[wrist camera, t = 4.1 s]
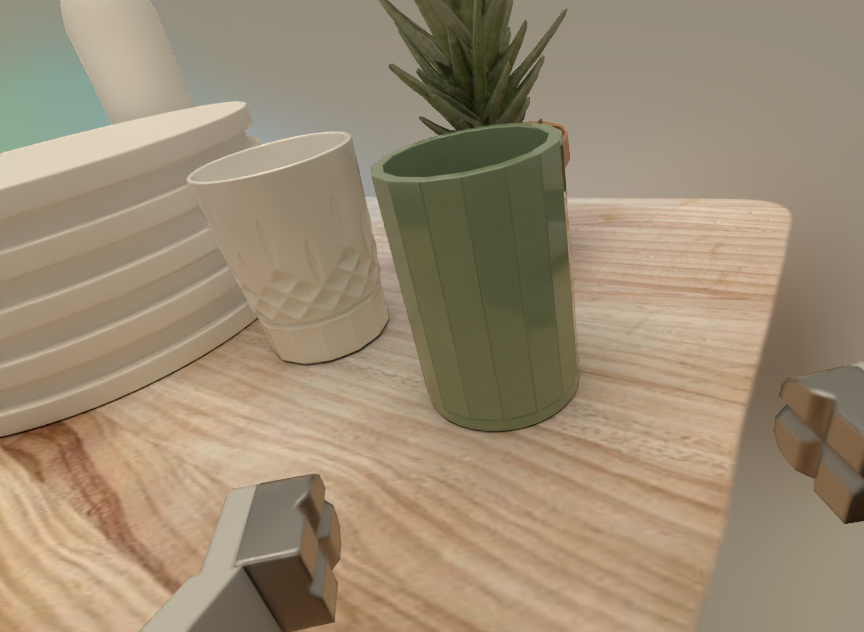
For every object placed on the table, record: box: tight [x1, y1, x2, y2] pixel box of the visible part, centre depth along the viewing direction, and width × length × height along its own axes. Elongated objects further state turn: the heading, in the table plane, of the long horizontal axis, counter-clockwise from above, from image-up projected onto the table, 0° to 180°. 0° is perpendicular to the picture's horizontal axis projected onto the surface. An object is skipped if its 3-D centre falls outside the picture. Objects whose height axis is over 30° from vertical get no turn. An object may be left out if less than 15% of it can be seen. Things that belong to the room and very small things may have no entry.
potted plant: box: [379, 0, 570, 167], centre depth 27 cm, size 10×10×25 cm
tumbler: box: [371, 123, 579, 431], centre depth 20 cm, size 6×6×10 cm
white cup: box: [186, 131, 389, 364], centre depth 27 cm, size 8×8×10 cm
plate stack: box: [0, 101, 261, 437], centre depth 36 cm, size 28×28×12 cm
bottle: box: [60, 0, 195, 125], centre depth 49 cm, size 8×8×30 cm
